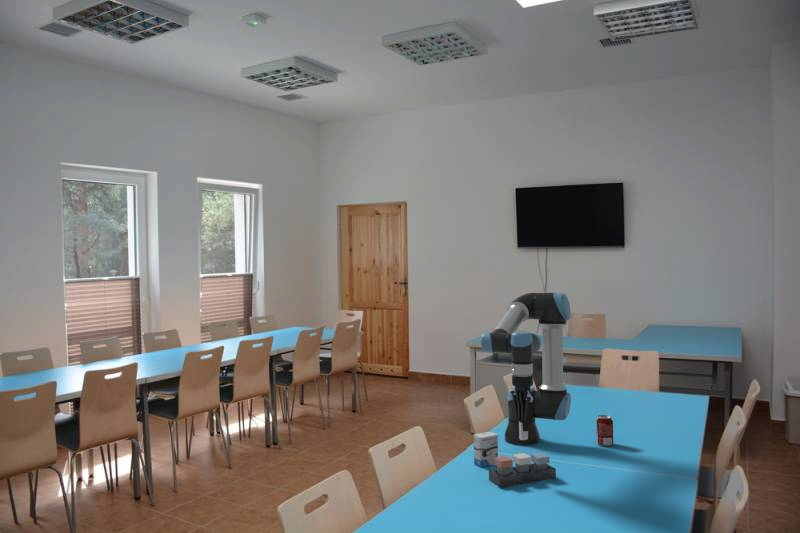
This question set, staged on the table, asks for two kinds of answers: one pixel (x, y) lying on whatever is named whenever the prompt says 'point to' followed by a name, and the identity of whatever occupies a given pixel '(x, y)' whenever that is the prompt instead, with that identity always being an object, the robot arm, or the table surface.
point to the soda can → (604, 430)
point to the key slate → (540, 460)
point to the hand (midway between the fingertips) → (523, 439)
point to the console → (522, 476)
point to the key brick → (503, 465)
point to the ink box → (485, 448)
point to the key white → (522, 462)
